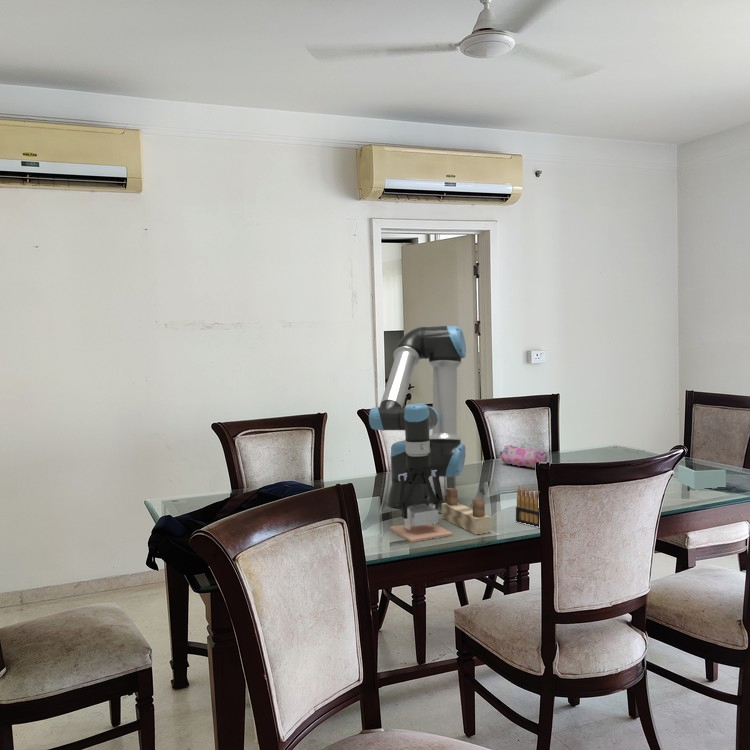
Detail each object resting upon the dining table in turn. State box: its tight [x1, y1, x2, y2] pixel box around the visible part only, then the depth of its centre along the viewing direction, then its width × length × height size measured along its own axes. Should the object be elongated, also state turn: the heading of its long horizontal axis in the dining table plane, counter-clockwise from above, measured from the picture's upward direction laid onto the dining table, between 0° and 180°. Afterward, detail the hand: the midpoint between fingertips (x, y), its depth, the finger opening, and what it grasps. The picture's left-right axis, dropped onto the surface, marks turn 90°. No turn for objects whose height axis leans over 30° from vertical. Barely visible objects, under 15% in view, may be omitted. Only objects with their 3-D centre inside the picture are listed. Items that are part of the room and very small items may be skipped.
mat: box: [389, 523, 454, 543], centre depth 214 cm, size 16×14×1 cm
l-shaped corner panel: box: [677, 464, 727, 489], centre depth 259 cm, size 12×12×8 cm
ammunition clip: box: [515, 485, 539, 527], centre depth 218 cm, size 11×2×12 cm, turn 38°
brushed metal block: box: [402, 504, 439, 526], centre depth 214 cm, size 9×8×4 cm
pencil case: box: [499, 445, 548, 469], centre depth 309 cm, size 21×9×9 cm, turn 37°
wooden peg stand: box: [441, 487, 491, 536], centre depth 220 cm, size 22×5×10 cm, turn 23°
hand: (420, 526), depth 214 cm, fingers closed on brushed metal block, 8 cm apart
